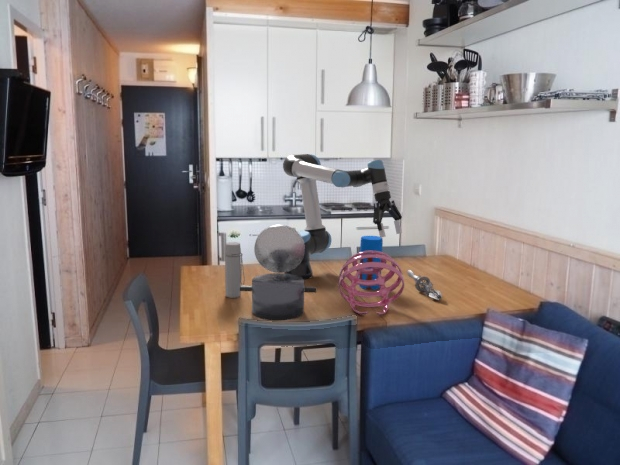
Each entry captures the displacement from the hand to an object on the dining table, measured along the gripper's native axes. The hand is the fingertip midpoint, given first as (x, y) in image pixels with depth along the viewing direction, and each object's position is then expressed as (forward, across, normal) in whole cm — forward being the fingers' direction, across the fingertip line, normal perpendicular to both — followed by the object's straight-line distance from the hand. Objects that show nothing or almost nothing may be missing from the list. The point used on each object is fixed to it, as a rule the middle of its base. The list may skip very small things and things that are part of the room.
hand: (391, 235), depth 246 cm
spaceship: (+30, +12, -2) cm, 33 cm away
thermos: (+23, 0, +20) cm, 30 cm away
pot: (+21, -59, +24) cm, 67 cm away
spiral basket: (+30, -28, -1) cm, 41 cm away
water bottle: (+12, -59, +51) cm, 79 cm away
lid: (-4, -53, +22) cm, 57 cm away
